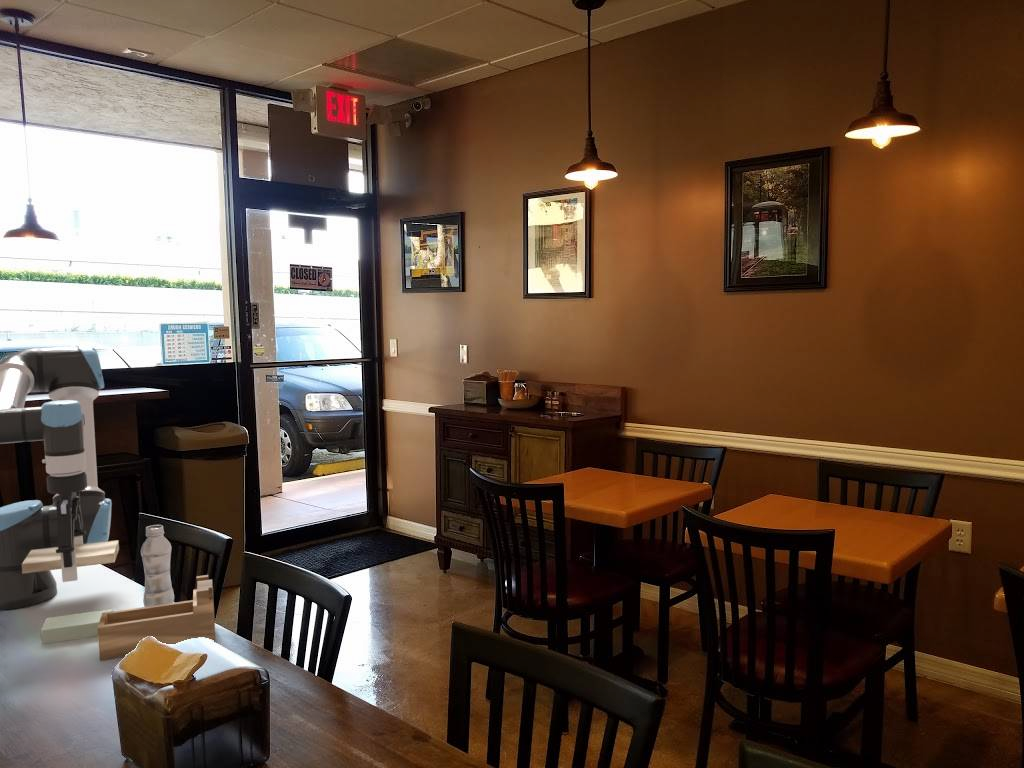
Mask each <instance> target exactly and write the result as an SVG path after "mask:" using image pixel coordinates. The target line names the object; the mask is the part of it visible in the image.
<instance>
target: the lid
mask: <svg viewBox="0 0 1024 768" xmlns="http://www.w3.org/2000/svg"><path fill="white" fill-rule="evenodd" d="M56 550H58V547H54V548H45V549H36V550H31V551H30V553H29V554H28V556H27V557H26V559H25V560H24V561H23V563H22V574H23V573H31V572H40V571H48V570H50V571H53V570H54V571H55V570H62V568H61V555H60V553H56ZM74 550H75V551H76V564H77V568H80V567H87V566H89V567H90V566H96V565H104V564H111V563H113V564H114V563H115V561H116V559H117V556H118V554H119V550H120V544H119V540H116V539H115V540H108V541H107V542H98V543H89V544H81V545H74Z"/></svg>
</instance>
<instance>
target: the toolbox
mask: <svg viewBox="0 0 1024 768" xmlns="http://www.w3.org/2000/svg"><path fill="white" fill-rule="evenodd" d="M195 579H196V582H197V581H204V580H209V574H206V575H205V574H204V575H196V578H195ZM192 593H193V594H192V599H191V600H184V601H178V602H173V603H169V604H162V605H155V606H148V607H144V606H142V607H134V608H128V609H122V610H121V609H119V610H115V611H113V610H112V611H113V612H106V613H102V615H101V618H100V621H99V625H98V636H97V640H98V653H99V661H107V660H113V659H120V658H125V657H124V656H125V655H126V654H128V653H129V652H131V651H132V650H134V649H135V648H136V646H137V644H138V643H139V641H140V640H142V639H143V638H145V637H147V636H153V637H155V638H156V639H157V640H158V641H160V642H162V643H166V644H176V643H178V642H181V641H184V640H187V639H191V638H198V637H205V638H209V639H212V640H214V641H216V624H215V623H216V622H215V620H216V619H215V606H214V604H215V603H214V597H213V598H210V599H209V589H208V588H205V589H197V588H196V589H195V588H194V589H193V592H192Z"/></svg>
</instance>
